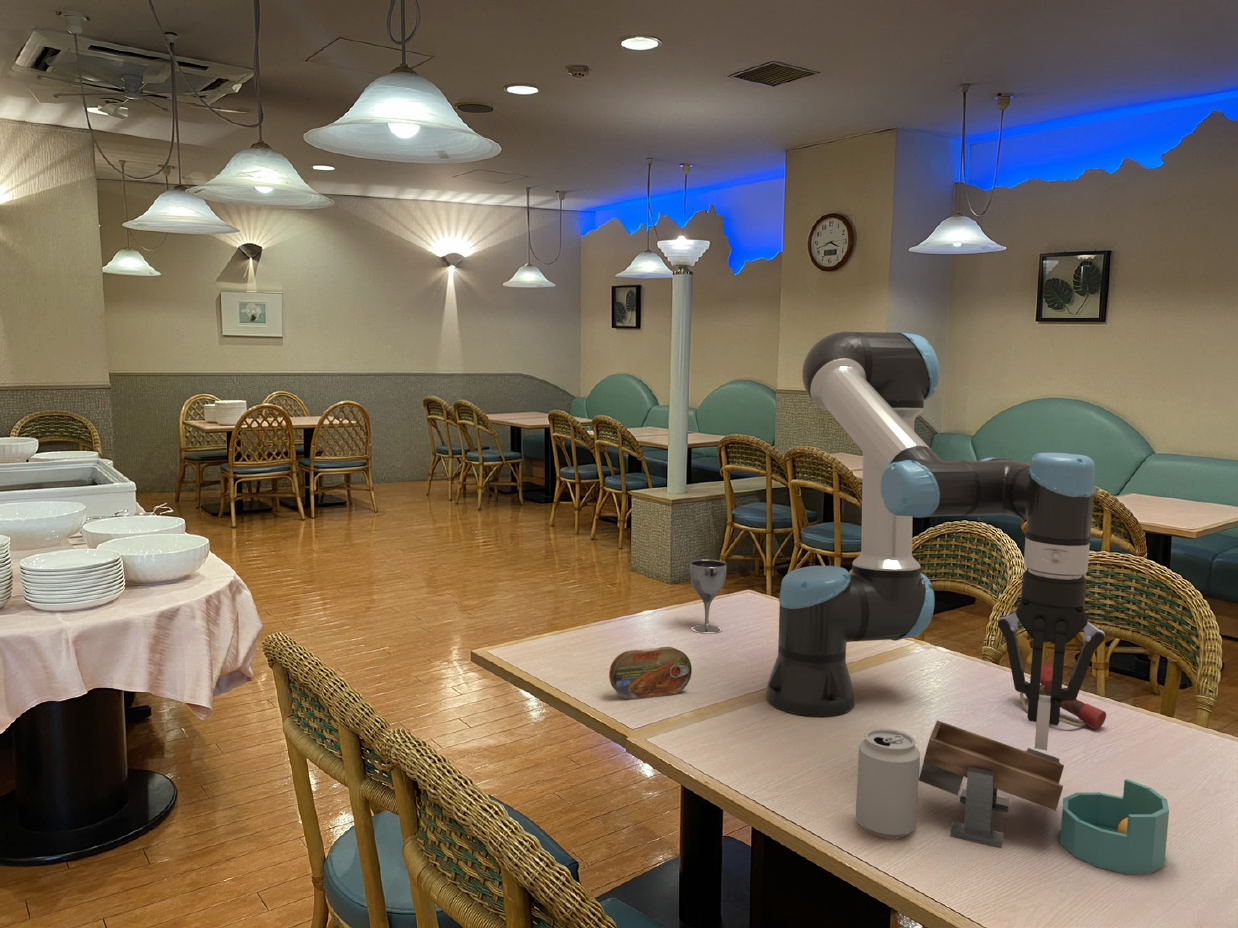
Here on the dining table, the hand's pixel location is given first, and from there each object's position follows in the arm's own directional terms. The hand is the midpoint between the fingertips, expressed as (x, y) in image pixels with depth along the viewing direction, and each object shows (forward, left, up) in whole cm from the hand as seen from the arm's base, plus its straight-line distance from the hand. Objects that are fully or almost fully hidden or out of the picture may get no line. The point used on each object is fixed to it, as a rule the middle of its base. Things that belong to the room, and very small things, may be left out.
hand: (1041, 745), depth 121 cm
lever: (-6, -4, -5) cm, 9 cm away
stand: (-6, -7, -9) cm, 13 cm away
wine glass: (-69, +56, -9) cm, 90 cm away
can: (-17, -15, -9) cm, 24 cm away
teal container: (+9, -7, -9) cm, 14 cm away
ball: (+11, -7, -6) cm, 15 cm away
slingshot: (0, +37, -9) cm, 38 cm away
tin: (-63, +13, -9) cm, 65 cm away
